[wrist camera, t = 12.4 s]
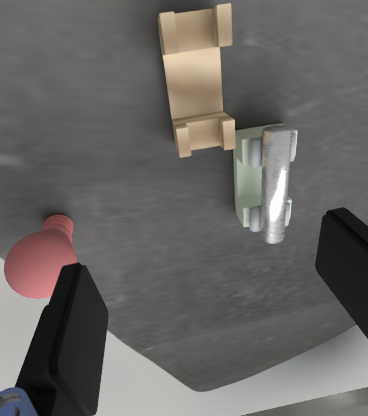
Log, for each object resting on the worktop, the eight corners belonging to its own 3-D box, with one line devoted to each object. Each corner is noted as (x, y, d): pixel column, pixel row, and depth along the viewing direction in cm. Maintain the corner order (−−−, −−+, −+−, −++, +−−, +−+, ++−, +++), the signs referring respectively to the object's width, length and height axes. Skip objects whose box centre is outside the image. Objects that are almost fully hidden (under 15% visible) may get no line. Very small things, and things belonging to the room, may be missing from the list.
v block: (232, 130, 34) (246, 143, 29) (282, 122, 34) (303, 133, 29) (235, 212, 40) (247, 233, 35) (277, 204, 40) (294, 224, 35)
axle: (257, 128, 29) (270, 135, 27) (283, 123, 30) (298, 130, 27) (256, 232, 36) (266, 245, 34) (277, 227, 37) (288, 240, 34)
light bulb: (98, 236, 39) (80, 302, 29) (51, 249, 39) (16, 320, 29) (75, 194, 35) (46, 252, 25) (24, 209, 35) (-26, 273, 25)
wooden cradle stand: (157, 21, 27) (159, 13, 22) (215, 12, 27) (230, 3, 22) (175, 142, 33) (180, 157, 28) (222, 134, 34) (235, 148, 29)
